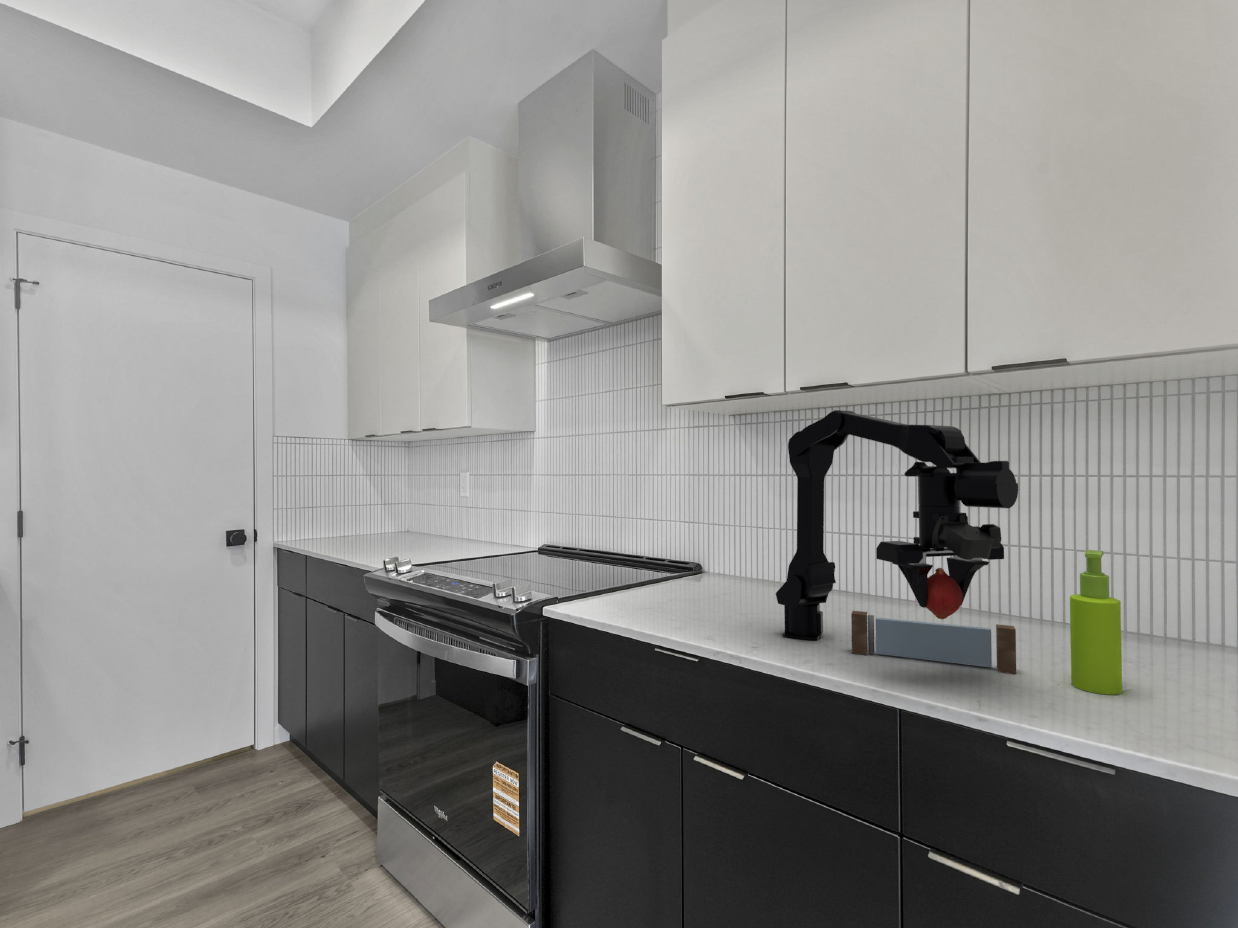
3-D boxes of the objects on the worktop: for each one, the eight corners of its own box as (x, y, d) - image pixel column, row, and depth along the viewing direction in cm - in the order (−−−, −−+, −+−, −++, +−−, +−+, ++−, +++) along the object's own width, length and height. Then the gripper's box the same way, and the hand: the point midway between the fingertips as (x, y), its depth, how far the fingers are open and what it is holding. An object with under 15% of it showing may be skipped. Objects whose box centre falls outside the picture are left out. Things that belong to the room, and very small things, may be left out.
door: (868, 652, 105) (867, 615, 105) (868, 650, 106) (868, 614, 106) (991, 667, 97) (991, 627, 97) (991, 664, 98) (990, 625, 98)
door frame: (851, 654, 105) (851, 614, 106) (853, 649, 108) (852, 610, 108) (1016, 673, 94) (1015, 629, 95) (1013, 668, 97) (1013, 625, 97)
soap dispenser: (1123, 684, 90) (1120, 550, 90) (1121, 698, 84) (1118, 555, 85) (1074, 675, 93) (1071, 547, 94) (1069, 688, 88) (1066, 552, 88)
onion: (925, 612, 98) (924, 563, 98) (966, 618, 94) (965, 566, 94) (916, 619, 93) (915, 568, 93) (958, 625, 89) (957, 571, 89)
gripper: (922, 510, 84) (924, 622, 84) (1034, 507, 88) (1036, 614, 88) (873, 506, 95) (875, 605, 95) (974, 503, 99) (976, 598, 98)
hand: (940, 605), depth 94 cm, fingers closed on onion, 6 cm apart
